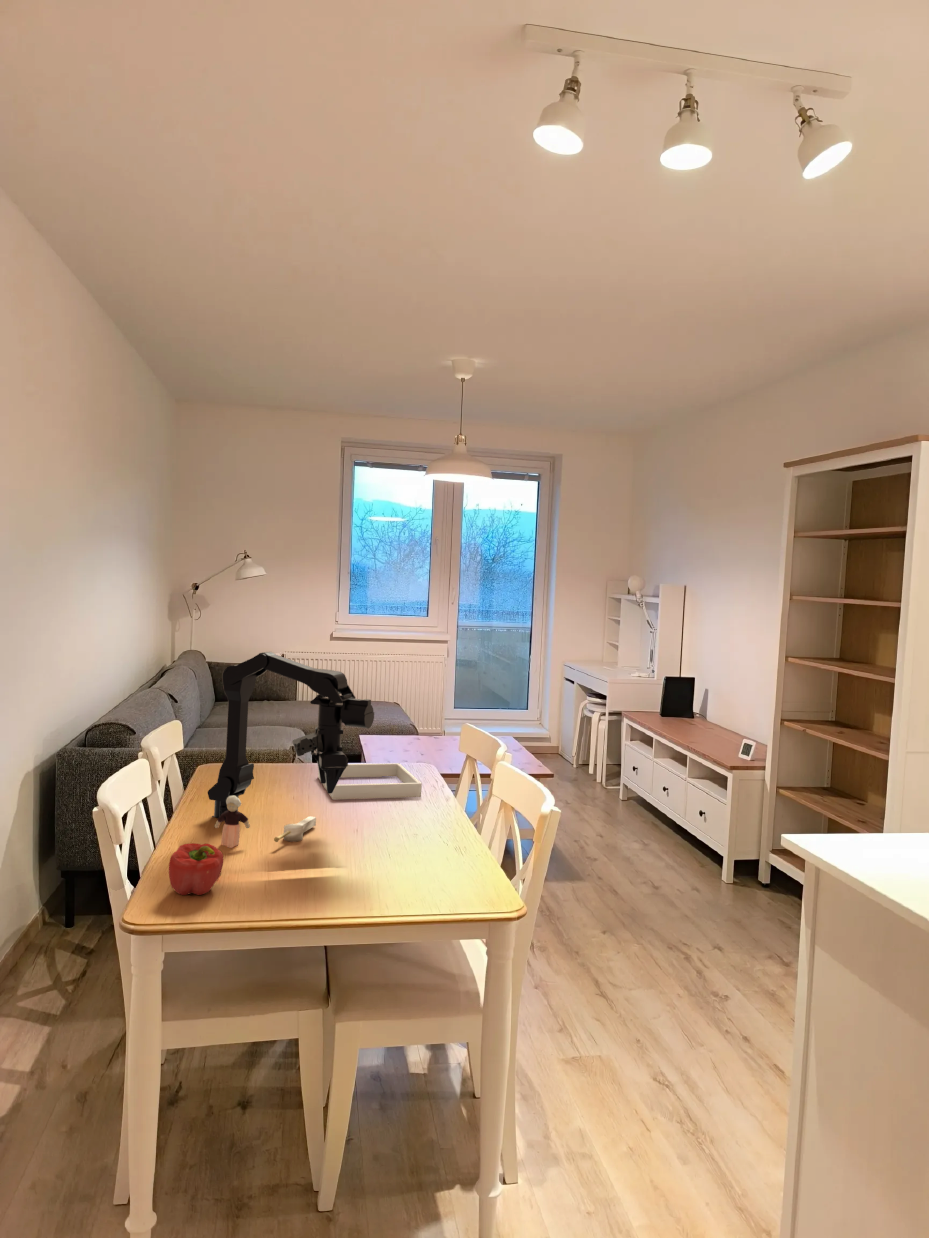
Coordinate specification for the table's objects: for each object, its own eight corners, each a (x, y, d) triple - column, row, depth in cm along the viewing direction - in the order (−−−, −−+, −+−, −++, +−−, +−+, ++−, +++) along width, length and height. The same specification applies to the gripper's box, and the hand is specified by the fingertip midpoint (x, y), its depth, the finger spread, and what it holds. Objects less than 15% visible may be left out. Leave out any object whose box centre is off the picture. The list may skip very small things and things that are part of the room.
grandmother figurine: (213, 854, 183) (215, 798, 182) (213, 848, 186) (216, 793, 186) (248, 853, 185) (251, 797, 184) (248, 847, 188) (251, 793, 188)
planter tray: (317, 777, 257) (318, 764, 257) (398, 775, 266) (399, 763, 266) (332, 799, 233) (333, 785, 233) (421, 796, 242) (421, 783, 241)
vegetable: (234, 894, 161) (237, 843, 161) (186, 907, 153) (188, 854, 153) (204, 878, 168) (207, 830, 168) (157, 890, 161) (159, 839, 160)
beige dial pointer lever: (283, 851, 183) (284, 838, 183) (266, 848, 184) (266, 836, 184) (320, 827, 202) (321, 816, 201) (303, 825, 203) (304, 814, 202)
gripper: (290, 717, 204) (287, 779, 205) (301, 731, 186) (297, 799, 187) (335, 717, 208) (332, 778, 208) (350, 731, 190) (346, 798, 191)
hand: (326, 788), depth 199 cm, fingers open, 9 cm apart
